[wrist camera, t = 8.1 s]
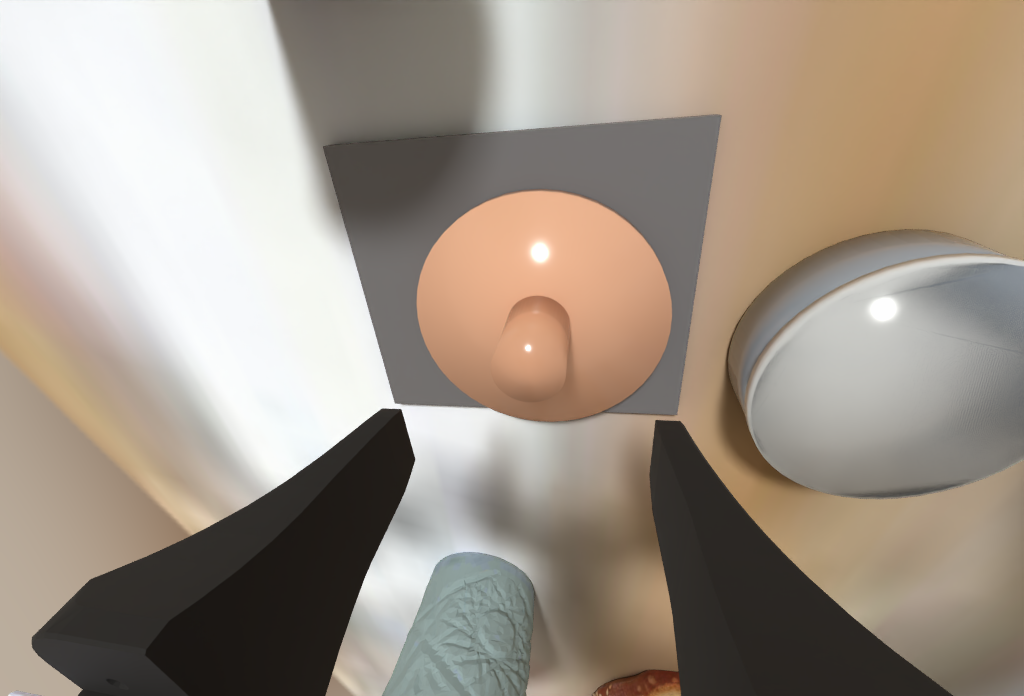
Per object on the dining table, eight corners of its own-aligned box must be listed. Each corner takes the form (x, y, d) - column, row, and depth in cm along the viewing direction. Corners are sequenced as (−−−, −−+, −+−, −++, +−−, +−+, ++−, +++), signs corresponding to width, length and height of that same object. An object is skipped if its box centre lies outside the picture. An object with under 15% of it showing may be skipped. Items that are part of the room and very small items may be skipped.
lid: (718, 235, 18) (756, 279, 14) (613, 436, 24) (617, 507, 20) (440, 153, 18) (395, 174, 14) (410, 376, 24) (373, 434, 20)
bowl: (1076, 219, 16) (1205, 255, 13) (944, 442, 22) (1009, 508, 18) (748, 229, 18) (784, 263, 15) (708, 431, 24) (726, 489, 20)
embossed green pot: (446, 613, 39) (394, 797, 29) (406, 543, 34) (327, 735, 24) (555, 617, 36) (540, 822, 26) (528, 542, 32) (497, 757, 21)
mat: (717, 114, 16) (721, 115, 16) (675, 407, 23) (677, 414, 23) (330, 145, 19) (322, 146, 18) (398, 397, 26) (395, 403, 26)
